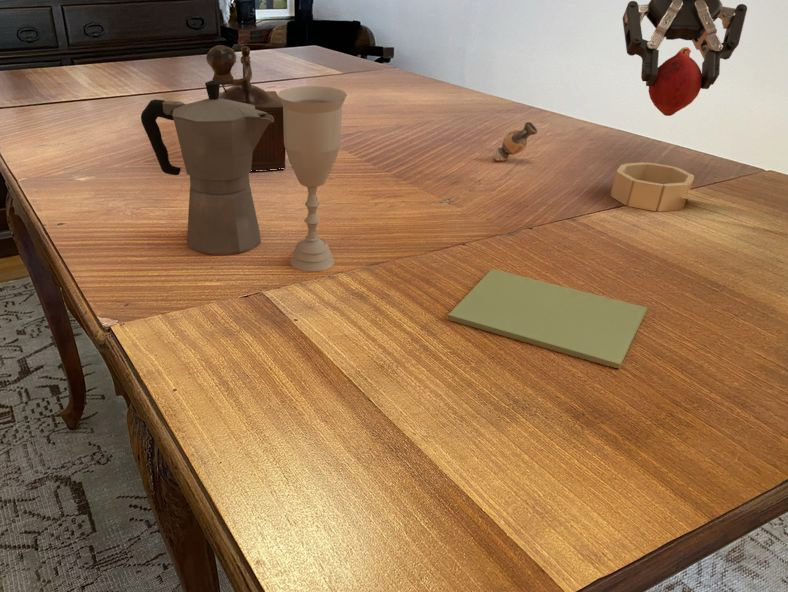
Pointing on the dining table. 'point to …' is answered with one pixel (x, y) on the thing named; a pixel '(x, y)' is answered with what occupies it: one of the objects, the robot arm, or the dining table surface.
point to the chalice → (312, 158)
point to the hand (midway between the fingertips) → (679, 83)
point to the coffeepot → (213, 167)
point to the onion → (676, 83)
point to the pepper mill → (272, 140)
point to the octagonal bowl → (651, 186)
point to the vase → (514, 142)
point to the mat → (551, 317)
